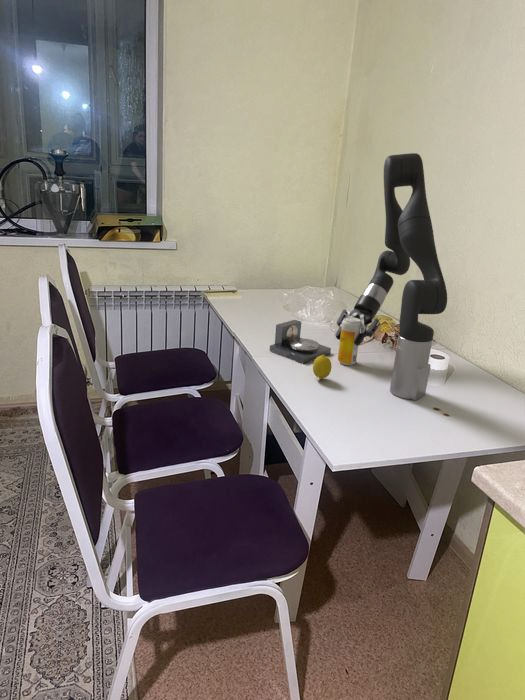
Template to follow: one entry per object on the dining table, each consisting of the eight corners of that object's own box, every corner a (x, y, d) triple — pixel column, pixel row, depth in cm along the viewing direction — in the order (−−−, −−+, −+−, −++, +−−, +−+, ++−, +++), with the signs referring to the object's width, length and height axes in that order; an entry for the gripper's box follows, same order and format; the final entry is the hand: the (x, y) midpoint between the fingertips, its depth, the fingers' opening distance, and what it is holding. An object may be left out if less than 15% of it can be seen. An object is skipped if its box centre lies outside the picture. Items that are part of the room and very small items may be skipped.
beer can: (343, 357, 168) (348, 315, 163) (359, 362, 164) (364, 319, 159) (334, 362, 163) (339, 319, 158) (350, 367, 160) (355, 323, 155)
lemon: (329, 384, 147) (332, 359, 144) (310, 381, 148) (313, 356, 145) (330, 377, 152) (333, 352, 149) (312, 374, 153) (315, 350, 150)
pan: (324, 346, 169) (324, 344, 169) (306, 353, 162) (306, 350, 162) (302, 339, 175) (302, 336, 175) (283, 345, 168) (283, 342, 168)
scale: (330, 353, 171) (333, 328, 168) (303, 363, 161) (305, 337, 158) (297, 341, 181) (299, 318, 177) (269, 350, 170) (271, 326, 167)
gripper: (349, 289, 166) (324, 329, 162) (386, 298, 157) (361, 341, 153) (356, 302, 171) (332, 341, 167) (392, 312, 162) (368, 353, 158)
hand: (346, 341), depth 160 cm, fingers open, 6 cm apart
